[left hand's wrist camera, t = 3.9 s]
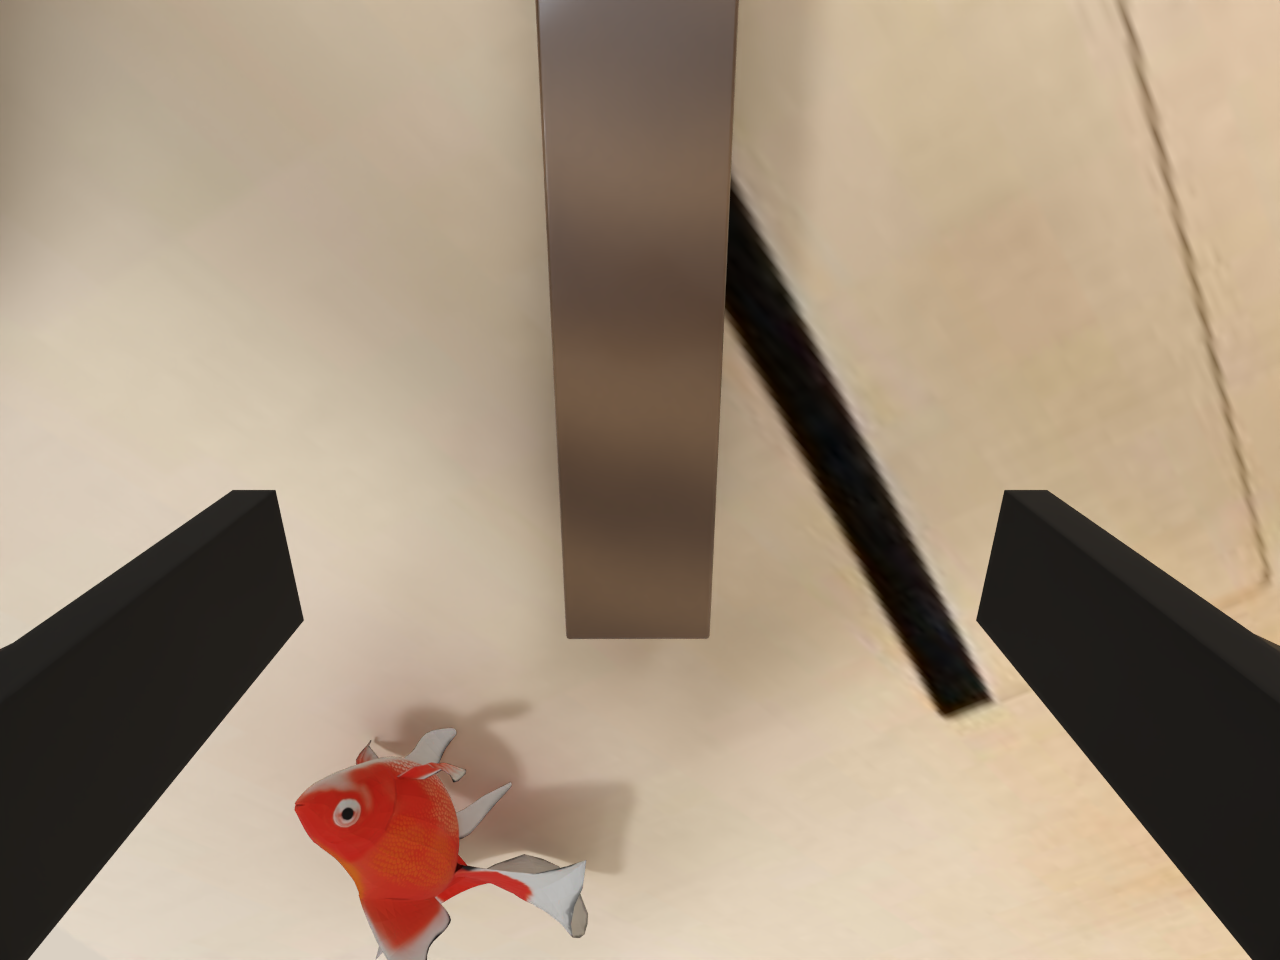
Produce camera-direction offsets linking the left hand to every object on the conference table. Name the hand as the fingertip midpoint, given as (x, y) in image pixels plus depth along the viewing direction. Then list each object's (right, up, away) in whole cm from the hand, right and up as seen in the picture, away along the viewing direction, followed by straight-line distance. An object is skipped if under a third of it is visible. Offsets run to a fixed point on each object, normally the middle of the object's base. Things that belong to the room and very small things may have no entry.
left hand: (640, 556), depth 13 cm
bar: (0, +33, +3) cm, 33 cm away
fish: (-8, -14, +22) cm, 27 cm away
